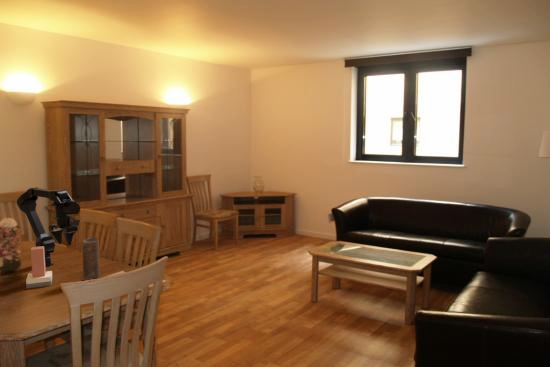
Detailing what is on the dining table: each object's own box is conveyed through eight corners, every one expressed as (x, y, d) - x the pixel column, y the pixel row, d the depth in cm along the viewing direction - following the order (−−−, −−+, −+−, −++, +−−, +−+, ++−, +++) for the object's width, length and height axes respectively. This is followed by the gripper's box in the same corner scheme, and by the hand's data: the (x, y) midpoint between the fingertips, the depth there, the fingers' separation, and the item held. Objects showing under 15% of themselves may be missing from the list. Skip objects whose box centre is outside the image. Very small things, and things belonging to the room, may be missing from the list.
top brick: (33, 274, 210) (32, 247, 209) (45, 273, 212) (44, 246, 211) (32, 277, 206) (30, 249, 204) (44, 276, 208) (43, 248, 206)
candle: (103, 278, 216) (101, 237, 214) (92, 283, 209) (90, 241, 207) (90, 277, 219) (88, 236, 216) (79, 281, 212) (77, 240, 209)
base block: (28, 281, 212) (28, 273, 212) (52, 278, 216) (52, 270, 215) (26, 288, 203) (26, 279, 202) (51, 285, 207) (50, 276, 206)
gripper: (86, 212, 230) (89, 242, 231) (67, 211, 241) (70, 240, 242) (65, 216, 221) (68, 247, 222) (46, 214, 232) (49, 244, 233)
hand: (65, 244), depth 230 cm, fingers open, 9 cm apart
